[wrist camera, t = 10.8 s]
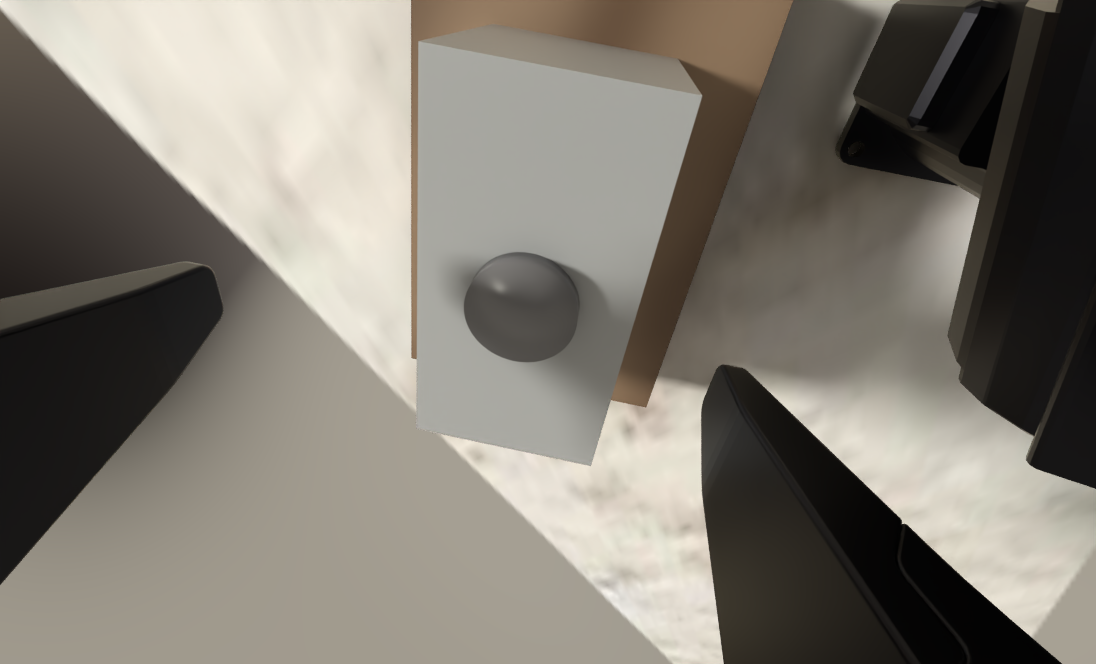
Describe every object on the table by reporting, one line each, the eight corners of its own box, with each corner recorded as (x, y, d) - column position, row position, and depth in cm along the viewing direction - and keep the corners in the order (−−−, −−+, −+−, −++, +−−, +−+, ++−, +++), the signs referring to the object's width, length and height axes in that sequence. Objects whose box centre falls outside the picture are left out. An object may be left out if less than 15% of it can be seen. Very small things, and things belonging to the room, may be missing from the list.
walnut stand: (777, -30, 15) (805, -35, 12) (644, 363, 24) (646, 407, 21) (447, -91, 15) (411, -108, 13) (434, 319, 24) (411, 357, 21)
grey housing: (601, 346, 20) (589, 482, 14) (470, 319, 20) (409, 444, 14) (677, 58, 14) (706, 101, 9) (493, 23, 14) (406, 44, 9)
